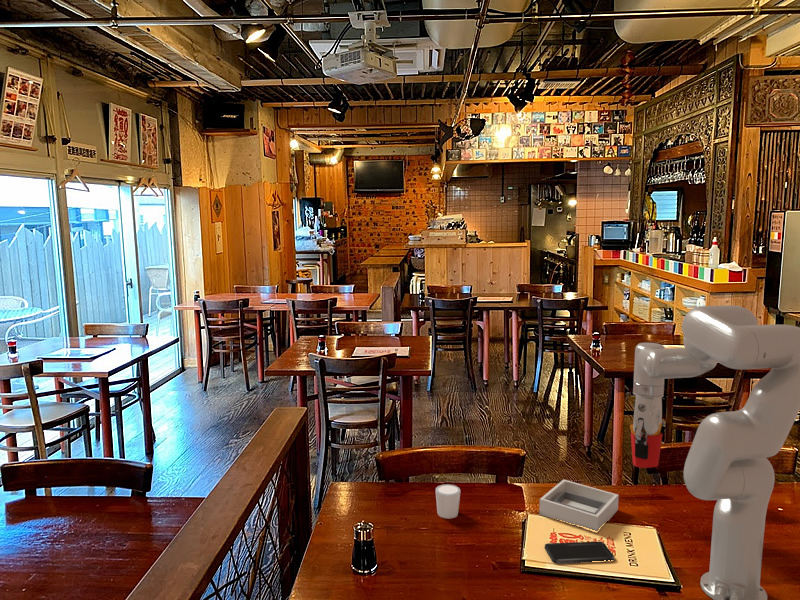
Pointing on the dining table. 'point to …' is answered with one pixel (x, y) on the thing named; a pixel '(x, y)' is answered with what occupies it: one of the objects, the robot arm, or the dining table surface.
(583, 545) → the phone
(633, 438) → the french fries
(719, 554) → the robot arm
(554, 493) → the walled box
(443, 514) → the shot glass
